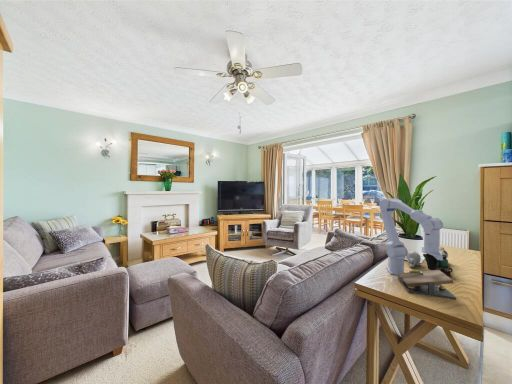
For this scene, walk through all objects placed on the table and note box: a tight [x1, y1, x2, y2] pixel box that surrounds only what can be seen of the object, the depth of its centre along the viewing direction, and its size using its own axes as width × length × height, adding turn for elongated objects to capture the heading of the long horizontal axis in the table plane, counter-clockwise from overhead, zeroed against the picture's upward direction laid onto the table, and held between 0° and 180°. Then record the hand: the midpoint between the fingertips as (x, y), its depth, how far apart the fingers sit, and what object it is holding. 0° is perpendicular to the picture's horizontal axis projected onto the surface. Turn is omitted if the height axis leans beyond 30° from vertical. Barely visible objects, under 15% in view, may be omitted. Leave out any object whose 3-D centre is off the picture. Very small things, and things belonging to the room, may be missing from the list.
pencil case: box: [438, 246, 449, 270], centre depth 130 cm, size 22×8×10 cm, turn 134°
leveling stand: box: [397, 276, 457, 300], centre depth 100 cm, size 15×18×6 cm
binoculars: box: [435, 255, 453, 277], centre depth 116 cm, size 9×11×10 cm
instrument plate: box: [398, 269, 454, 287], centre depth 100 cm, size 12×18×3 cm, turn 71°
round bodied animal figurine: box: [405, 250, 422, 268], centre depth 129 cm, size 7×12×8 cm, turn 130°
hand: (431, 269), depth 100 cm, fingers closed
